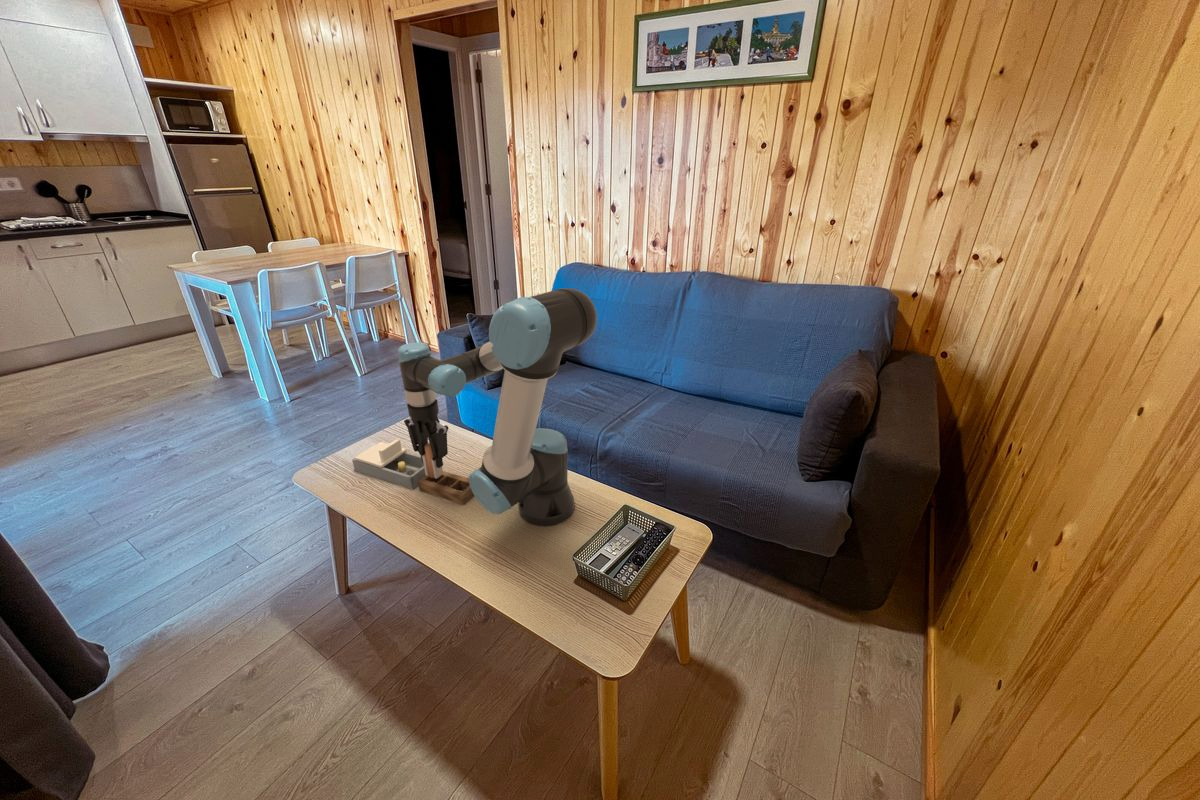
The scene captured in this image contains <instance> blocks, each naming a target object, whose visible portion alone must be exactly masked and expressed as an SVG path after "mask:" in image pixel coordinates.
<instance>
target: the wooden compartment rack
mask: <svg viewBox="0 0 1200 800" xmlns="http://www.w3.org/2000/svg"><path fill="white" fill-rule="evenodd" d="M417 487H418V490H419V491H420V492H423V493H426V494H429V495H432V496H435V497H437V498H441V499H444V500H448V501H450V502H453V503H457V504H460V505H465V504H466V503H467V502H468V501H469V500H470V499H472V497H473V496H474V494H473V492H472V490H471V488H470V484H469V477H468V478H467V477H464V476H462V475H458V474H454V473H450V472H448V471H444V470H443V474H442V475H441V476H439V477H438V478H437V479H436V478H431V477H430V476H429V475H428V476H427V475H426V476H425V477H423V478H422V479H421V480H419V481H418V486H417Z"/></svg>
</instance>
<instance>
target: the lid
mask: <svg viewBox="0 0 1200 800" xmlns="http://www.w3.org/2000/svg"><path fill="white" fill-rule="evenodd" d="M405 452H408V451H407V448H405V447H402V445H401V439H398V438H396V439H394V440H393V441H391V442H390V443H387V442H384V441H379V442H378V443H376V444H374V445H373V446H372V445H371V447H369V448H367V449H366V450H364V451H363V452H361V453H359V454H358V455H356V456H355V457H353V459H354V458H355V460H357V461H360V462H364V463H367V464H370V465H373V466H376V467H380V468H382V467H384V468H385V466H386V465H388V464H389V463H391V462H393V461H395V460H394V459H396V458H397V457H399V456H400V455H402V454H403V453H405Z"/></svg>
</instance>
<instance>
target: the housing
mask: <svg viewBox="0 0 1200 800" xmlns="http://www.w3.org/2000/svg"><path fill="white" fill-rule="evenodd" d="M351 460H352V461H351V462H352V465H353V469H354V471H355V472H358V473H361V474H364V475H367V476H370V477H374V478H377V479H379V480H383V481H385V482H388V483H392V484H396V485H398V486H401V487H404V488H406V489H407V488H408V489H410V490H414V489H415V488H417V487H419V486H418V481H419V480H421V479H422V478H423V477H425V476H426V475H425V469H424V464H423V463H422V459H421V455H420V454H416V453H411V452H409V451H406V452H405V453H403V454H402V455H400V456H399V457H397V458H396V459H394V460H393V461H396V462H398V463H397V468H398V469H397V470H393V469H390V468H386V467H385V466H384V467H382V468H380V467H376V466H373V465H370V464H367V463H364V462H360V461H357V460H355V458H354V457H353V458H352V459H351ZM406 465H409V466H413V467H415V468H418V469H413V468H410V467H407V466H406Z"/></svg>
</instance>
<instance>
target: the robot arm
mask: <svg viewBox="0 0 1200 800" xmlns="http://www.w3.org/2000/svg"><path fill="white" fill-rule="evenodd" d="M597 324H598V314H597V308H596V307H595V305H594V302H593V300H591V298H590V296H588V295H587V294H586V293H584V292H583V291H581V290H579V289H576V288H568V287H565V288H564V287H563V288H562V287H561V288H557V289H554V290H551V291H547V292H543V293H539V294H536V295H532V296H521V297H518V298H516V299H513V300H512V301H509V302H506V303H504V304H503V305H501V306H499V307H498V308H497V310H496V311H495V312H494V314H493V315H492V317H491V320H490V324H489V326H488V338H489V341H488V342H486V343H484V344H482V345H480V346H478V347H476V348H474V349H471V350H469V351H466V352H463V353H460V354H456V355H453V356H450V357H447V358H445V359H438V358H435V357H433V356H431V354H432V352H431V350H430V347H429V346H428V344H426V343H424V342H416V341H415V342H408V343H405V344H402V345H400V347H399V348H398V349H397V355H398V356H397V357H398V365H399V368H400V369H399V370H400V373H401V378H402V379H401V381H402V383H403V389H404V396H405V401H406V403H407V404H406V406H407V411H408V416H409V417H407V418H406V419H404V421H403V423H404V425H405V426H406V428H407V430H408V431H407V432H408V435H409V438H410V441H411V445H412V448H413V451H414V452H415V453H418V455H419V456H421V459H422V463H423V464H424V469H425V475H427V476H428V475H429V470H428V464H427V458H426V452H425V444H427V443H430V446H431V450H432V454H433V458H432V459H431V460H432V465H433V471H434V477H435V478H436V479H437V478H438V477H439V476H441V475H442V474H443V471H444V470H443V465H444V462H443V458H445V457H446V456H447V455H448V454H449V452H448V450H449V449H448V431H449V426H448V425H442V424H441V423H440V419H439V418H438V414H439V411H440V410H439V404H438V399H437V394H438V395H441V396H442V395H443V396H445V397H449V398H451V397H456V396H458V395H460V393H461V392H462V391H463V390H464V389H465V386H466V384H468V383H472V382H474V381H476V380H478V379H481V378H485V377H487V376H490V375H493V374H496V373H498V372H499V371H502V370H504V371H503V372H504V373H503V378H502V383H501V390H500V396H499V402H498V407H497V412H496V413H497V414H496V420H495V425H494V430H493V431H494V432H493V437H492V444H491V445H490V446H489V447H488V448H487V449H486V450H485V451H484V453H483V456H482V460H481V461H482V462H481V466H480V467H478V468H477V469H476V468H475V469H474V470H473V471H472V472H471V473H469V474H470V475H469V476H468V479H469V484H470V488H471V490H472V492H473V494H474V495H473V496H474V497H475V499H476V500H477V502H478V503H479V504H480V505H481V506H482V507H483V509H485V510H486V511H488V512H489V513H491V514H494V515H501V514H503V513H504V512H507V511H508V510H510V509H511V508H512V507H515V505H517V504H518V512H519V515H520V517H521V519H523V520H524V521H526V522H528V523H529V524H531V525H534V526H541V527H542V526H544V527H545V526H547V527H548V526H549V527H550V526H554V525H557V524H560V523H562V522H565V521H566V520H568V519H569V518H570V517H571V516H572V514H573V513H574V510H575V497H574V495H573V493H572V490H571V487H570V486H569V483H568V451H569V449H568V443H567V439H566V436H565V435H564V434H563V433H562V432H560V431H557V430H555V429H551V428H543V427H542V428H541V427H539V428H537V426H538V421H539V418H540V413H541V409H542V404H543V400H544V396H545V392H546V387H547V384H548V380H549V379H551V378H553V377H554V376H555V375H556V374H557V373H558V371H559V367H560V365H561V363H560V362H561V360H562V356H563V354H564V352H567V351H568V350H571V349H574V348H576V347H578V346H581V345H582V344H584V343H585V342H587V341H588V340H589V339H590V338H591V337H592V335H593V334H594V332H595V330H596V327H597Z"/></svg>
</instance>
